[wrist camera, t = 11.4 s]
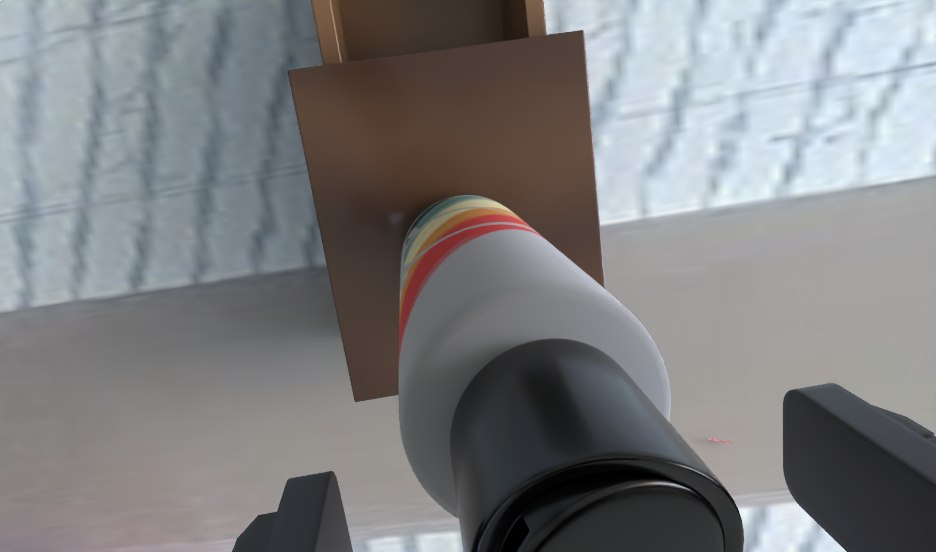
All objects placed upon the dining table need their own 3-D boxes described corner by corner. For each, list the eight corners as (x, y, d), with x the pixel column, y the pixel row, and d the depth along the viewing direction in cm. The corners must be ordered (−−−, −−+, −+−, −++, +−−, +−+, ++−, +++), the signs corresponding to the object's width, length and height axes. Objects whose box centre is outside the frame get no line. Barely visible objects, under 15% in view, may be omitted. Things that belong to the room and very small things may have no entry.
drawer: (280, -168, 29) (241, -259, 22) (504, -193, 30) (535, -288, 23) (349, 199, 34) (335, 219, 27) (542, 170, 35) (577, 183, 28)
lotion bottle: (421, 176, 26) (478, 341, 7) (546, 214, 27) (917, 457, 8) (384, 300, 27) (341, 752, 8) (505, 333, 28) (735, 806, 9)
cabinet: (317, 83, 33) (286, 69, 24) (537, 52, 34) (584, 29, 25) (366, 335, 37) (354, 402, 28) (562, 303, 38) (611, 358, 29)
